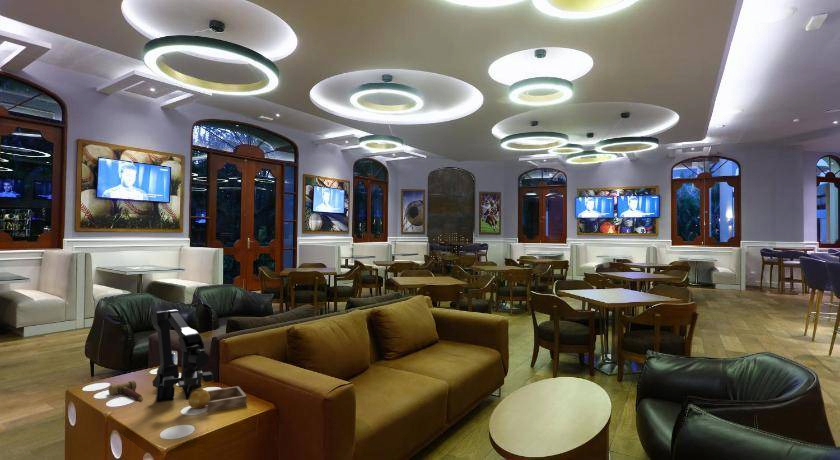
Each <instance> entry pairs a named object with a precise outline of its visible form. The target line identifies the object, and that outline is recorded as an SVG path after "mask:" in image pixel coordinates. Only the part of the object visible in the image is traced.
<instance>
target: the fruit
mask: <svg viewBox="0 0 840 460" xmlns="http://www.w3.org/2000/svg"><path fill="white" fill-rule="evenodd" d="M207 391H208V390H207V389H206V390H205V389H204V388H201V387H199V388H196V390H195V391H192V392H191V394H190V396H189V399H188V400H187V401H188V406H189V407H190V408H192V409H197V410H198V409H203V408H205V407H207V402H208V401H211V400H210V395H209V393H208V392H207Z"/></svg>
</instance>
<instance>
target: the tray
mask: <svg viewBox="0 0 840 460" xmlns="http://www.w3.org/2000/svg"><path fill="white" fill-rule="evenodd" d="M206 391H207V392H208V393H209V395H210V401H208V402H207V406H206V412H207V413H209V412H216V411H222V410H228V409H231V408H239V407H243V406H247V403H248V402H247V401H248V400H247V397H248V395H246V393H245V392H244V391H243V389H241V387H240V386H239V385H237V386H232V387H231V386H229V387H223V388H216V389H210V390H206Z"/></svg>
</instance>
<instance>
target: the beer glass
mask: <svg viewBox="0 0 840 460" xmlns="http://www.w3.org/2000/svg"><path fill="white" fill-rule="evenodd" d="M172 359H173V362H174V363H175V365H176V364H177V365H178V351H177V350H172Z"/></svg>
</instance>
